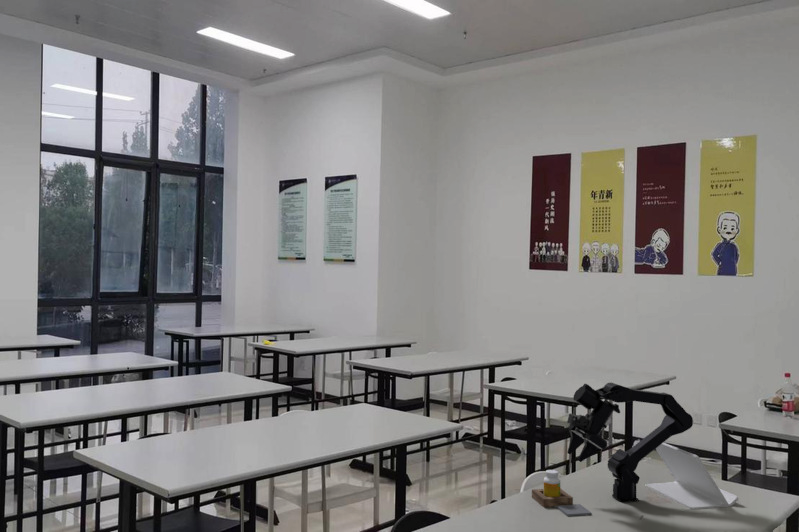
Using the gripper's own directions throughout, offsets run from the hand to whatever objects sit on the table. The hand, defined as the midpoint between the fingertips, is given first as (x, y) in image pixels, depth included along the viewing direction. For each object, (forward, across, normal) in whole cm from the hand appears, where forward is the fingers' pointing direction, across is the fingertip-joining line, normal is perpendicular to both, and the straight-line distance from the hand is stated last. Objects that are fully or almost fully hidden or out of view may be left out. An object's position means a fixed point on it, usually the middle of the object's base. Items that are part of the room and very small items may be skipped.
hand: (573, 457), depth 219 cm
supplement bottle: (+16, 0, +2) cm, 16 cm away
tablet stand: (-11, -2, +43) cm, 44 cm away
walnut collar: (+16, 0, +2) cm, 16 cm away
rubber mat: (+14, +9, +5) cm, 17 cm away
